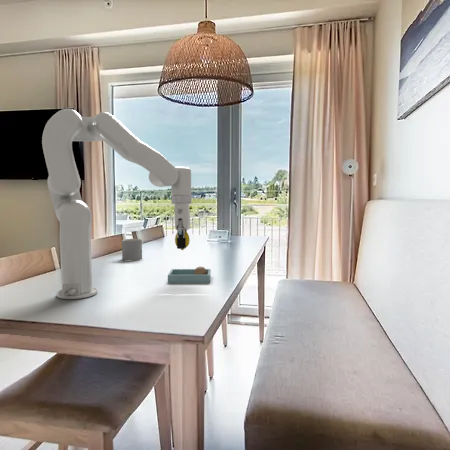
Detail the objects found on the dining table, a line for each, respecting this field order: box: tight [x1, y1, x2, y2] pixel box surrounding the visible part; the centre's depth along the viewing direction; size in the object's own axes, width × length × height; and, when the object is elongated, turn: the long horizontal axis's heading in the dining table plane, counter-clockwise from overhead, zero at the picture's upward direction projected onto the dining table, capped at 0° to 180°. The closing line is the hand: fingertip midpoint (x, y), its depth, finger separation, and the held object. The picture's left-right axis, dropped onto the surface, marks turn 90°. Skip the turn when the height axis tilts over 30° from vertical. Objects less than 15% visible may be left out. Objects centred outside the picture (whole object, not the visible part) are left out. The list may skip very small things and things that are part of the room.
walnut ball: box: [194, 266, 207, 275], centre depth 142 cm, size 5×5×5 cm
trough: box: [167, 268, 212, 284], centre depth 142 cm, size 11×16×4 cm
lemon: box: [174, 231, 190, 251], centre depth 141 cm, size 6×6×8 cm
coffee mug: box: [121, 238, 143, 261], centre depth 191 cm, size 13×10×10 cm
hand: (182, 246), depth 141 cm, fingers closed on lemon, 5 cm apart
